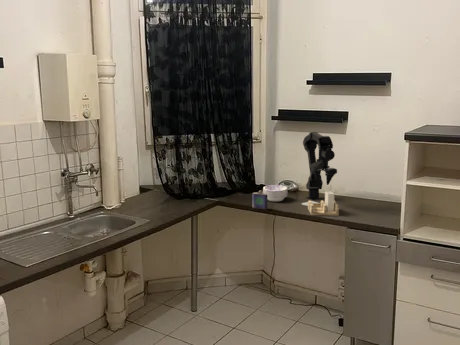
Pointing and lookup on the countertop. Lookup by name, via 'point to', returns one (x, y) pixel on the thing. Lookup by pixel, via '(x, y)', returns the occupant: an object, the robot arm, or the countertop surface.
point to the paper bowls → (275, 192)
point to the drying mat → (307, 203)
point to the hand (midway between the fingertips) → (322, 183)
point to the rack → (322, 209)
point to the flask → (259, 200)
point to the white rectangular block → (329, 200)
